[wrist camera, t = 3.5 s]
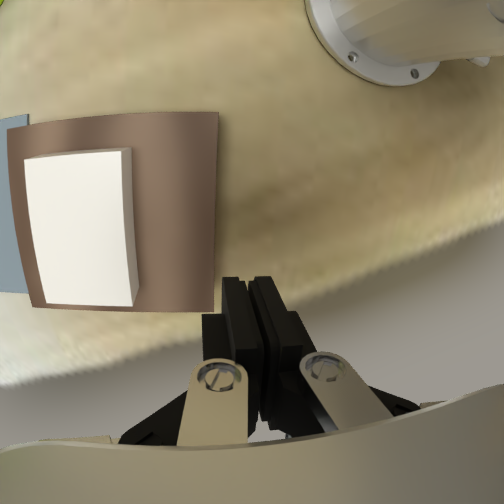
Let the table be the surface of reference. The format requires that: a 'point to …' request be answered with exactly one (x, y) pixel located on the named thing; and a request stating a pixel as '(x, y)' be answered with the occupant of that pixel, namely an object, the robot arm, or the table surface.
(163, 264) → the brown wooden block
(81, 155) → the tile
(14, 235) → the mat
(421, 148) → the table surface
